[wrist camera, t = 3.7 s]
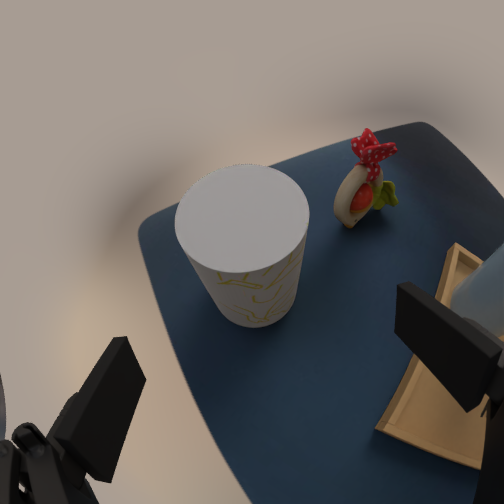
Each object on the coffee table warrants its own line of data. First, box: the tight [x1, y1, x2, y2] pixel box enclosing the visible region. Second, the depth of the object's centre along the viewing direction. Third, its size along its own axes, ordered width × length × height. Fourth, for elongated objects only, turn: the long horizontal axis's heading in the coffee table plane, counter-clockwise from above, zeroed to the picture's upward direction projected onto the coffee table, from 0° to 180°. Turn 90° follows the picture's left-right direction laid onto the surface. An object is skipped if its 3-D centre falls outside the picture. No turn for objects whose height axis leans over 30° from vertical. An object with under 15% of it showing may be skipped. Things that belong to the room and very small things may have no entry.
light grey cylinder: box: [175, 164, 309, 328], centre depth 22 cm, size 8×8×12 cm
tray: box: [375, 243, 504, 470], centre depth 18 cm, size 22×22×2 cm
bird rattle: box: [334, 128, 399, 228], centre depth 26 cm, size 6×11×9 cm
